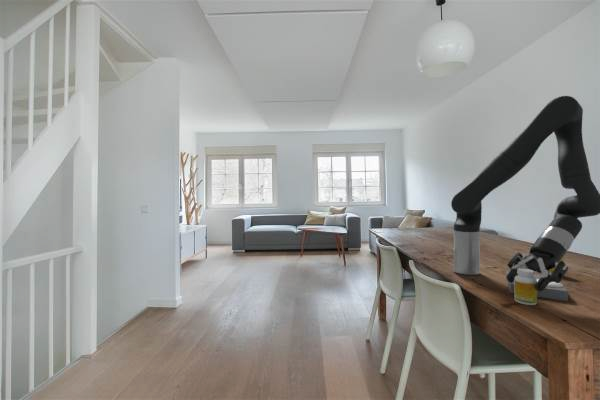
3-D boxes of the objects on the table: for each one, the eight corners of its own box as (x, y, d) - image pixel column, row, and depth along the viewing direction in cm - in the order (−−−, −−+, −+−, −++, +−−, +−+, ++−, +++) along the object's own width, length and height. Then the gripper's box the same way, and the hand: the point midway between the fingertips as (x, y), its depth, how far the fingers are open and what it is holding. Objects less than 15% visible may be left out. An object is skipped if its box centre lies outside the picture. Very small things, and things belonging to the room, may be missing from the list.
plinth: (510, 293, 94) (510, 283, 94) (505, 278, 109) (505, 270, 109) (568, 301, 87) (568, 290, 87) (554, 284, 102) (554, 275, 102)
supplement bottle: (538, 307, 83) (538, 273, 82) (515, 303, 86) (515, 271, 85) (535, 300, 87) (535, 269, 87) (513, 297, 90) (513, 266, 90)
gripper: (522, 233, 95) (494, 270, 92) (572, 240, 81) (540, 284, 78) (534, 248, 96) (507, 285, 94) (586, 257, 82) (555, 301, 80)
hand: (522, 285), depth 86 cm, fingers open, 8 cm apart
